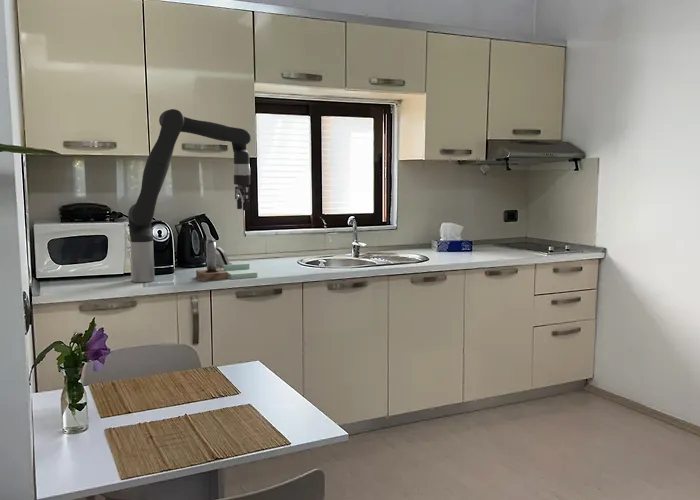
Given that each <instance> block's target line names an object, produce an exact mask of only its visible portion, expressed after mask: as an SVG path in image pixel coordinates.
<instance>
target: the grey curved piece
mask: <svg viewBox="0 0 700 500" xmlns="http://www.w3.org/2000/svg"><path fill="white" fill-rule="evenodd" d="M216 265H218V266H219V267H221V268H223V265H233V263H232V262H230V261H229V258H228V256H227V254H226V251H225V250H223V248H221V247H216Z"/></svg>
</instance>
